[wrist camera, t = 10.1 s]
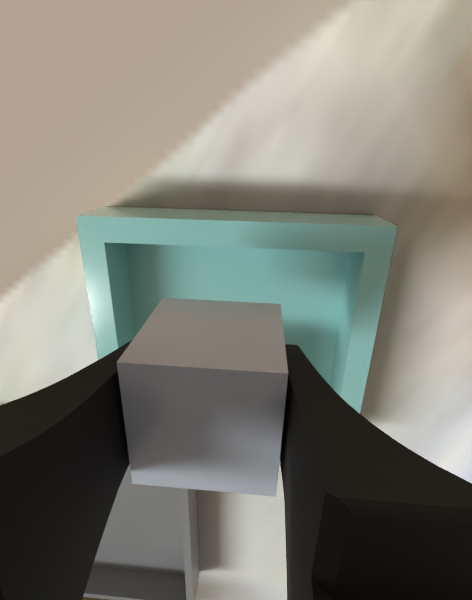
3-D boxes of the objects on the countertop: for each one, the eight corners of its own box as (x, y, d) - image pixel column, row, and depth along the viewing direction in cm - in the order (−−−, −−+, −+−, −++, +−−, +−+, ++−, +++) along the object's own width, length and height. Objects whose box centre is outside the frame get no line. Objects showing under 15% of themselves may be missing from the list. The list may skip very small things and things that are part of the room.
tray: (194, 430, 22) (186, 461, 20) (199, 571, 28) (193, 608, 26) (-51, 412, 23) (-86, 439, 21) (2, 552, 29) (-20, 585, 27)
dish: (375, 214, 16) (397, 226, 13) (337, 429, 21) (348, 470, 19) (106, 206, 17) (75, 215, 14) (131, 414, 22) (112, 451, 19)
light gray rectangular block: (280, 303, 11) (288, 373, 8) (272, 400, 13) (275, 496, 9) (163, 297, 12) (116, 362, 8) (169, 393, 13) (132, 483, 10)
